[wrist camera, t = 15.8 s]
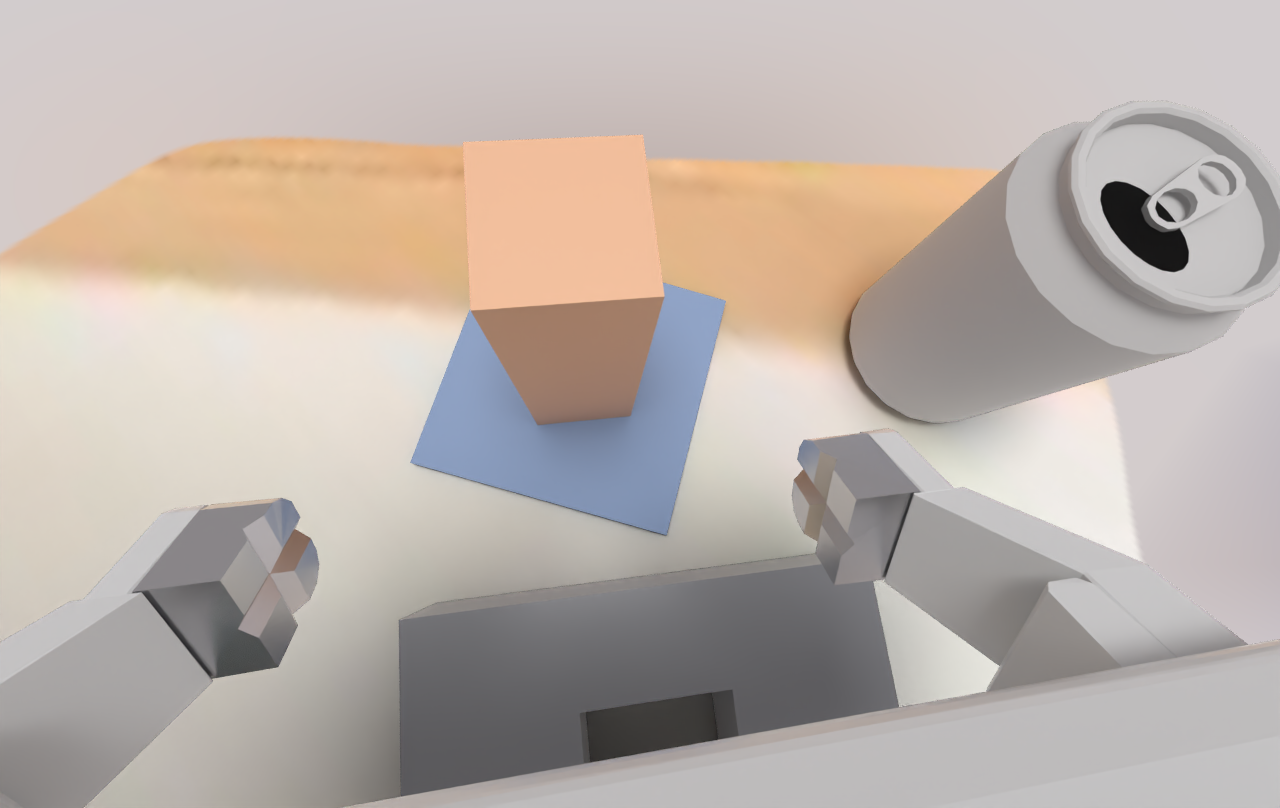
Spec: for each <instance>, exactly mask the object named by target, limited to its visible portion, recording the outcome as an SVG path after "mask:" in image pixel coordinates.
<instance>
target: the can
mask: <svg viewBox="0 0 1280 808" xmlns="http://www.w3.org/2000/svg"><path fill="white" fill-rule="evenodd" d="M1278 287H1280V175H1279V174H1278V172H1277V171H1276V170H1275V168H1274V167H1273V166H1272V165H1271V163H1270V162H1269V161H1268V160H1267V158H1266V157H1265V155H1264V154H1263V153H1262V152H1261V150H1260V149H1259V148H1258V147H1256V146H1255V145H1254V144H1253V143H1252V142H1250V141H1249V140H1248V139H1247V138H1246V137H1244V136H1243V135H1242V134H1241V133H1240V132H1238V131H1237V130H1236V129H1235V128H1234V127H1232V126H1231V125H1229V124H1227V123H1225V122H1223V121H1221V120H1219V119H1218V118H1216V117H1214V116H1212V115H1210V114H1208V113H1206V112H1204V111H1202V110H1200V109H1197V108H1193V107H1189V106H1185V105H1181V104H1177V103H1173V102H1169V101H1130V102H1127V103H1125V104H1122V105H1119V106H1117V107H1114V108H1111V109H1108V110H1106V111H1103V112H1102V113H1101V114H1100V115H1098V116H1097V117H1096V118H1095V119H1094V120H1093V121H1092V122H1073V123H1071V124H1068V125H1065V126H1063V127H1060V128H1057V129H1054V130H1052V131H1049V132H1046V133H1044V134H1042V135H1041V136H1040V137H1039V138H1038V139H1037V140H1036V141H1034V142H1033V143H1032V144H1031V145H1030V146H1029V147H1028V148H1027V149H1025V150H1024V151H1023V152H1022V153H1021V154H1020V155H1019V156H1018V157H1016V158H1015V159H1014V160H1013V161H1012V162H1011V163H1010V164H1009V165H1008V166H1006V167H1005V168H1004V169H1003V170H1002V171H1001V172H999V173H998V174H997V175H996V176H995V177H994V178H993V179H992V180H990V181H989V182H988V183H987V184H986V185H985V186H984V187H983V188H981V189H980V190H979V191H978V192H977V193H976V194H975V195H974V196H972V197H971V198H970V199H969V200H968V201H967V202H966V203H965V204H963V205H962V206H961V207H960V208H959V209H958V210H957V211H955V212H954V213H953V214H952V215H951V216H950V217H949V218H948V219H946V220H945V221H944V222H943V223H942V224H941V225H940V226H939V227H937V228H936V229H935V230H934V231H933V232H932V233H931V234H930V235H928V236H927V237H926V238H925V239H924V240H923V241H922V242H921V243H919V244H918V245H917V246H916V247H915V248H914V249H913V250H911V251H910V252H909V253H908V254H907V255H906V256H905V257H904V258H902V259H901V260H900V261H899V262H898V263H897V264H896V265H895V266H893V267H892V268H891V269H890V270H889V271H888V272H887V273H886V274H884V275H883V276H882V277H881V278H880V279H879V280H878V281H877V282H875V283H874V284H873V285H872V286H871V287H870V288H869V289H868V290H867V291H865V292H864V293H863V294H862V296H861V298H860V300H859V302H858V304H857V305H856V307H855V309H854V311H853V313H852V318H851V326H850V335H849V339H850V344H851V349H852V354H853V359H854V362H855V364H856V366H857V368H858V370H859V372H860V374H861V375H862V377H863V379H864V381H865V383H866V385H867V386H868V387H869V388H870V389H871V390H872V391H873V392H874V393H875V394H876V395H877V396H878V397H879V398H880V399H881V400H882V401H883V402H884V403H885V404H886V405H888V406H890V407H892V408H893V409H895V410H897V411H898V412H900V413H902V414H904V415H905V416H907V417H909V418H914V419H918V420H922V421H927V422H931V423H942V422H954V421H960V420H964V419H967V418H971V417H974V416H977V415H981V414H984V413H987V412H991V411H994V410H997V409H1001V408H1004V407H1007V406H1011V405H1014V404H1018V403H1021V402H1024V401H1028V400H1031V399H1034V398H1038V397H1041V396H1044V395H1048V394H1051V393H1054V392H1058V391H1061V390H1065V389H1068V388H1071V387H1075V386H1078V385H1081V384H1085V383H1088V382H1091V381H1095V380H1098V379H1101V378H1105V377H1108V376H1112V375H1115V374H1118V373H1122V372H1125V371H1128V370H1132V369H1135V368H1138V367H1142V366H1145V365H1148V364H1152V363H1155V362H1158V361H1162V360H1165V359H1169V358H1172V357H1175V356H1179V355H1182V354H1185V353H1189V352H1192V351H1194V350H1196V349H1198V348H1200V347H1202V346H1204V345H1206V344H1208V343H1210V342H1212V341H1214V340H1217V339H1219V338H1221V337H1223V336H1224V334H1225V333H1226V332H1227V331H1228V330H1229V328H1230V327H1231V326H1232V325H1233V324H1234V322H1235V321H1236V320H1237V319H1238V318H1239V317H1240V315H1241V314H1242V313H1243V312H1244V310H1245V308H1247V307H1250V306H1251V305H1254V304H1256V303H1258V302H1260V301H1262V300H1264V299H1266V298H1268V297H1271V296H1272V295H1273V294H1274V293H1275V291H1276V290H1277V289H1278Z"/></svg>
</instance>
